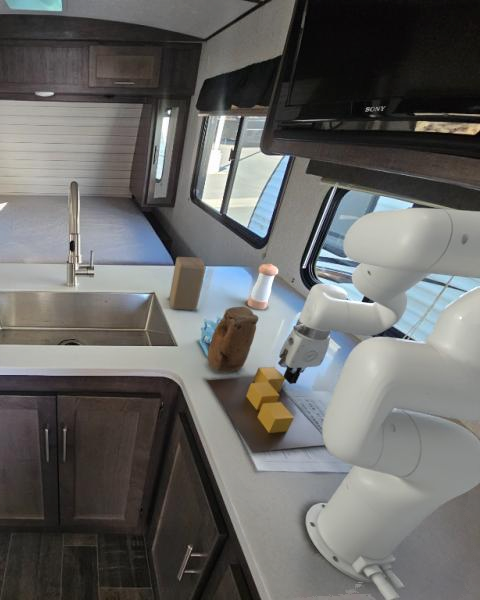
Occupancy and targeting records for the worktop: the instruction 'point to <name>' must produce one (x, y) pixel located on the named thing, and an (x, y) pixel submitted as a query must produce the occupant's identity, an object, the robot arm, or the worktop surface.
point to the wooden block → (187, 283)
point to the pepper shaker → (262, 287)
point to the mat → (252, 428)
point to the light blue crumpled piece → (208, 332)
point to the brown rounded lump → (232, 339)
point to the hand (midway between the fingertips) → (289, 380)
